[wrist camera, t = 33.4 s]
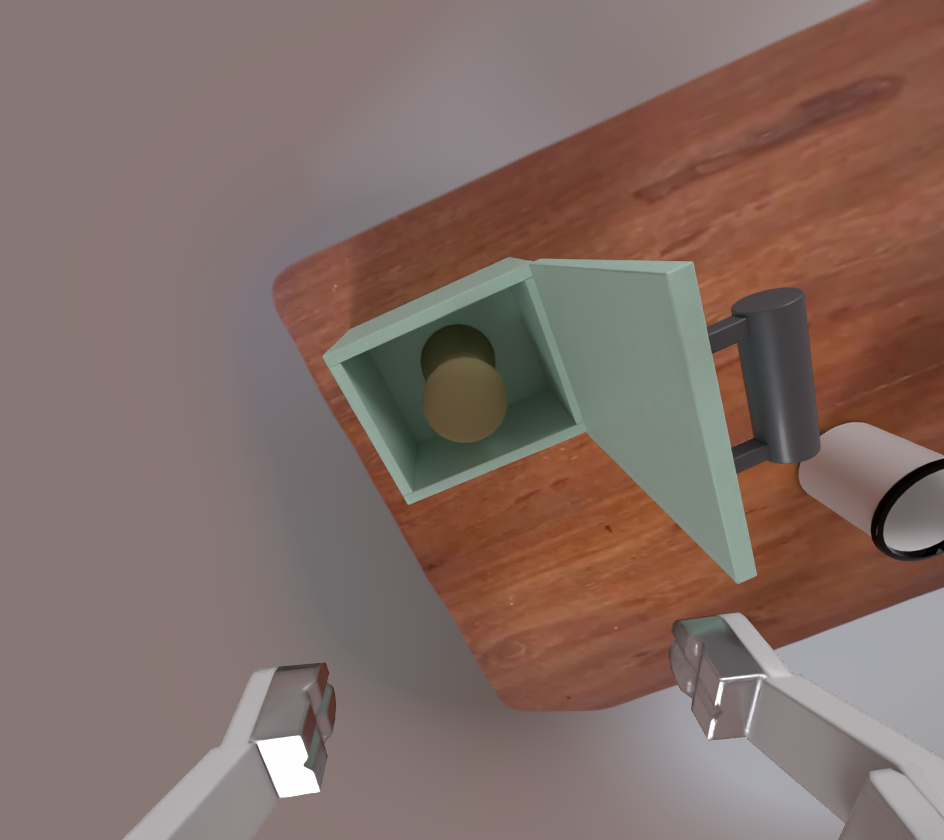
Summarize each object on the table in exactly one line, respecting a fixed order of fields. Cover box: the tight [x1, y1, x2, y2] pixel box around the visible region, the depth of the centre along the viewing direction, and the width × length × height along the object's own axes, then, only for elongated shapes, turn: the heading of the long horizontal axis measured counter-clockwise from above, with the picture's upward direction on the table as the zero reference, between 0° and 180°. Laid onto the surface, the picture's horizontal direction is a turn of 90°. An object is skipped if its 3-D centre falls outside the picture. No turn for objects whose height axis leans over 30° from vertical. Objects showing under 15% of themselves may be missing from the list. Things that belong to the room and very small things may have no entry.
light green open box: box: [322, 257, 587, 505], centre depth 32 cm, size 14×12×9 cm
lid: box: [529, 259, 821, 584], centre depth 20 cm, size 14×12×5 cm
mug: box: [799, 422, 944, 562], centre depth 38 cm, size 12×10×9 cm
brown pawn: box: [420, 324, 508, 443], centre depth 30 cm, size 6×6×11 cm
